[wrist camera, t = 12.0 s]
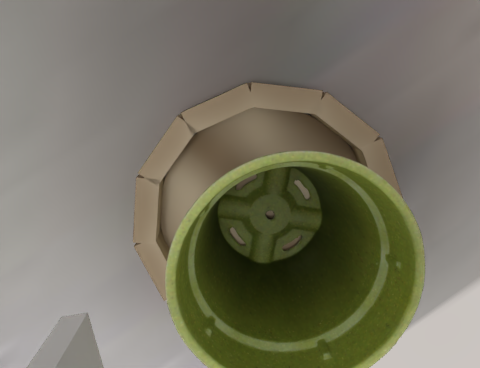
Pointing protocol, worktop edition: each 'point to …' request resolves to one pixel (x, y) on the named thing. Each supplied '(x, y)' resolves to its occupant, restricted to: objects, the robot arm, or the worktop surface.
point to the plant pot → (295, 266)
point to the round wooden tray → (240, 155)
